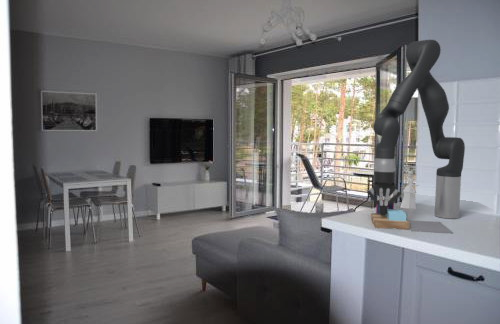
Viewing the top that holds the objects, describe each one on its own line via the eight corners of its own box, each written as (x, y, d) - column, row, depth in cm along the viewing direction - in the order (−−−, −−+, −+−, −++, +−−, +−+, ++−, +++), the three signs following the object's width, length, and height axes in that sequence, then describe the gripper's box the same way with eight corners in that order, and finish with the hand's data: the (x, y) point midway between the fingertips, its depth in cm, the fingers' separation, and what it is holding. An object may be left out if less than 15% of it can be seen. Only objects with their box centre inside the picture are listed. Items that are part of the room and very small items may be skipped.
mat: (402, 220, 155) (402, 219, 155) (440, 222, 153) (440, 221, 153) (410, 231, 140) (410, 229, 140) (453, 233, 137) (453, 232, 137)
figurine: (420, 208, 181) (422, 170, 179) (405, 209, 179) (406, 170, 177) (410, 205, 187) (412, 168, 186) (395, 206, 186) (397, 168, 184)
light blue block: (385, 215, 154) (386, 208, 154) (401, 216, 153) (402, 209, 153) (389, 220, 145) (389, 213, 145) (406, 221, 144) (406, 214, 144)
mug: (377, 218, 159) (378, 202, 158) (373, 213, 169) (374, 198, 168) (394, 219, 158) (395, 202, 157) (389, 214, 168) (390, 198, 167)
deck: (370, 219, 157) (371, 213, 157) (402, 220, 155) (402, 214, 155) (375, 227, 144) (375, 221, 144) (409, 229, 142) (409, 222, 141)
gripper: (401, 169, 151) (399, 213, 152) (365, 168, 153) (364, 212, 155) (404, 171, 143) (402, 218, 145) (367, 170, 146) (365, 216, 147)
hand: (382, 215), depth 150 cm, fingers closed
